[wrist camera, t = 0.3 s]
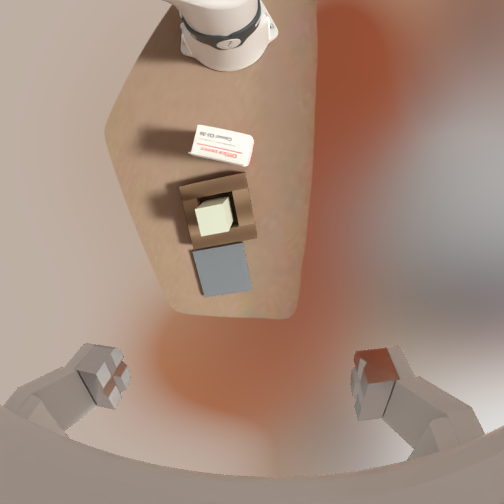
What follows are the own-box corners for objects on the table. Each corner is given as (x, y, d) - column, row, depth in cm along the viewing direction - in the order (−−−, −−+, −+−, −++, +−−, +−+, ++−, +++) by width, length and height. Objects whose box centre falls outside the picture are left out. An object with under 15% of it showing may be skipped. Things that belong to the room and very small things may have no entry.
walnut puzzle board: (183, 185, 54) (178, 186, 51) (245, 172, 53) (244, 172, 50) (196, 244, 57) (193, 249, 54) (257, 234, 56) (256, 238, 53)
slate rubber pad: (193, 250, 57) (192, 251, 57) (242, 241, 57) (242, 242, 56) (205, 295, 60) (204, 297, 60) (252, 288, 60) (252, 289, 59)
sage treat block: (206, 200, 54) (194, 209, 45) (229, 195, 54) (222, 203, 45) (211, 223, 56) (201, 236, 46) (234, 218, 55) (228, 231, 46)
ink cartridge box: (255, 140, 51) (253, 133, 37) (248, 166, 52) (245, 168, 38) (209, 131, 50) (192, 121, 36) (203, 156, 52) (184, 155, 38)
